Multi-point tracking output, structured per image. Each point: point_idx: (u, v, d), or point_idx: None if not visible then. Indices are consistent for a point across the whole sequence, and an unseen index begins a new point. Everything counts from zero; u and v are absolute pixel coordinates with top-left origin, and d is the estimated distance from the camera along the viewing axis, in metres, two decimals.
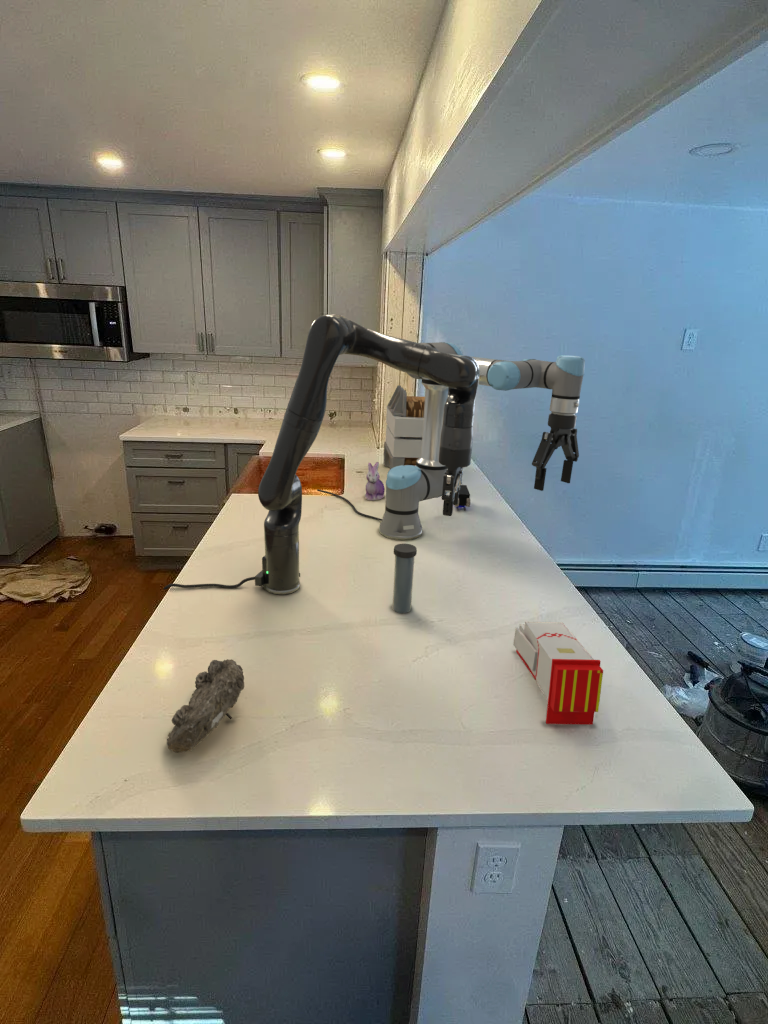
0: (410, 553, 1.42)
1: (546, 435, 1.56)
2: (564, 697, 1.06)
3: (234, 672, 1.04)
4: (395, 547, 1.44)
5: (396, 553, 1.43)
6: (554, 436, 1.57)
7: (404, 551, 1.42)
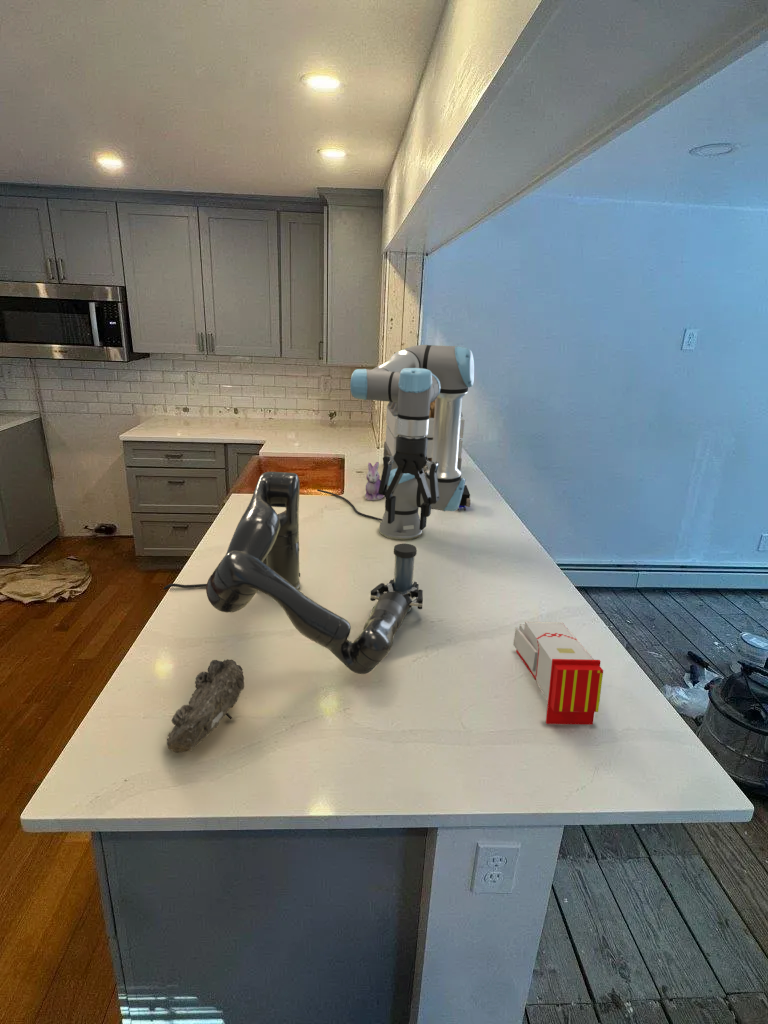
0: (410, 553, 1.42)
1: (437, 466, 1.34)
2: (564, 697, 1.06)
3: (234, 672, 1.04)
4: (395, 547, 1.44)
5: (396, 553, 1.43)
6: None
7: (404, 551, 1.42)
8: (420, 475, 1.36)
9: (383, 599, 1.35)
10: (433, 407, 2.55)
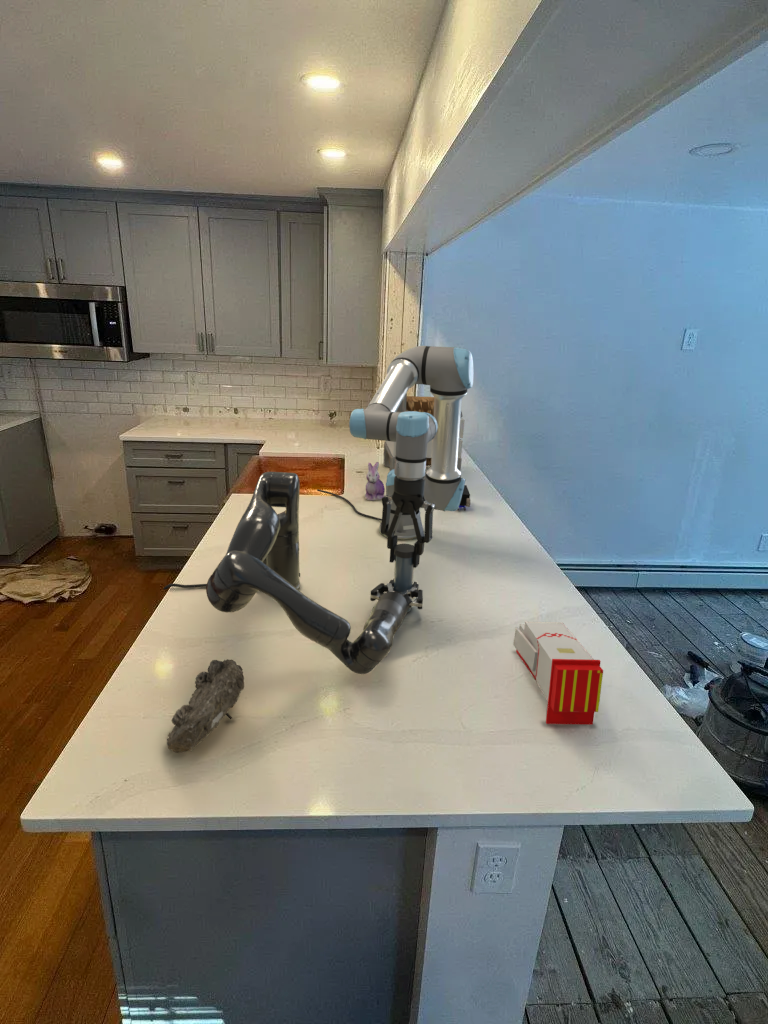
0: (410, 553, 1.42)
1: (433, 508, 1.38)
2: (564, 697, 1.06)
3: (234, 672, 1.04)
4: (395, 547, 1.44)
5: (396, 553, 1.43)
6: None
7: (404, 551, 1.42)
8: (416, 515, 1.39)
9: (383, 599, 1.35)
10: (433, 407, 2.55)
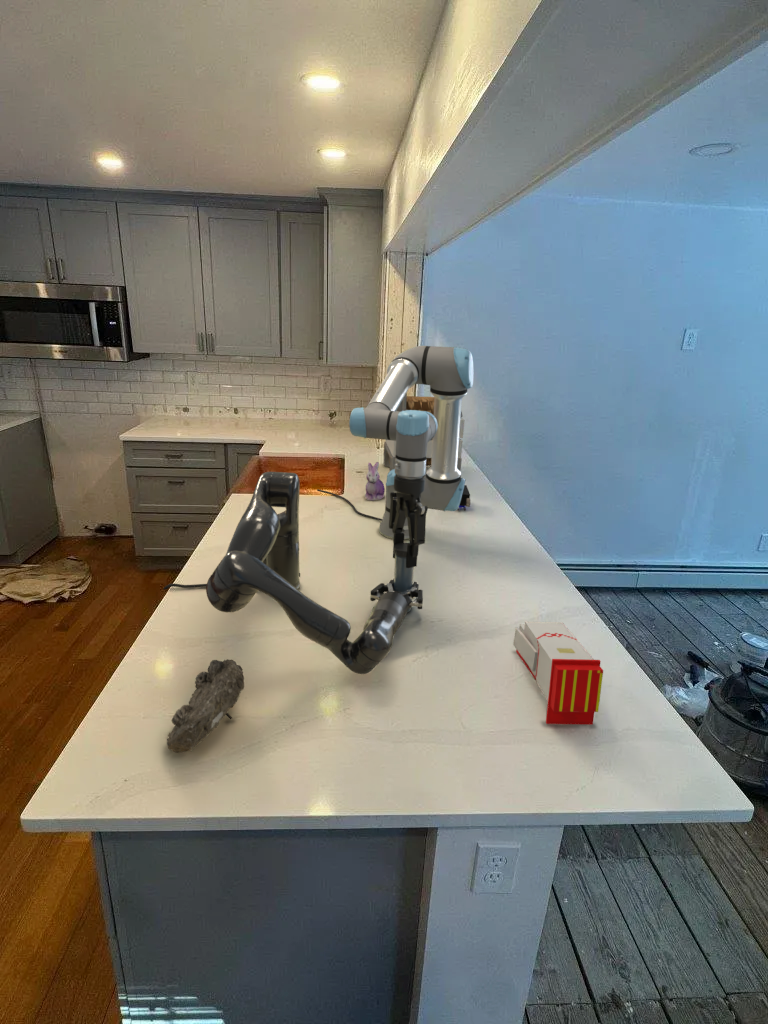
0: None
1: None
2: (564, 697, 1.06)
3: (234, 672, 1.04)
4: None
5: None
6: None
7: None
8: None
9: (383, 599, 1.35)
10: (433, 407, 2.55)
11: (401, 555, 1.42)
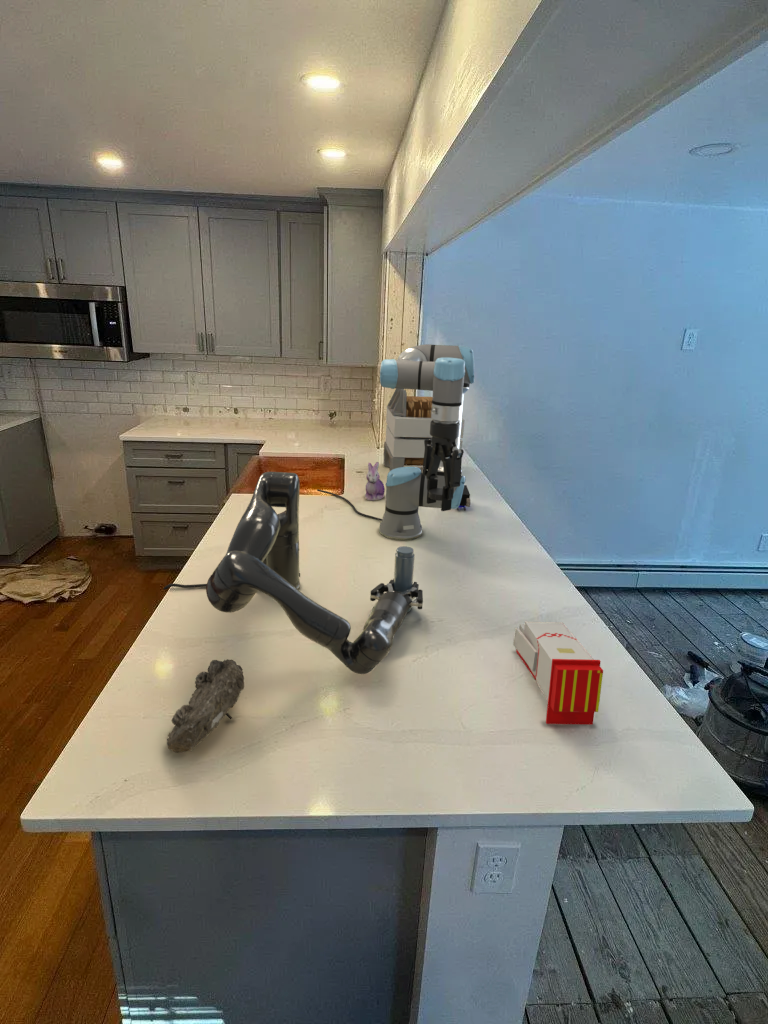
0: None
1: None
2: (564, 697, 1.06)
3: (234, 672, 1.04)
4: None
5: None
6: None
7: None
8: None
9: (383, 599, 1.35)
10: None
11: (436, 499, 1.49)
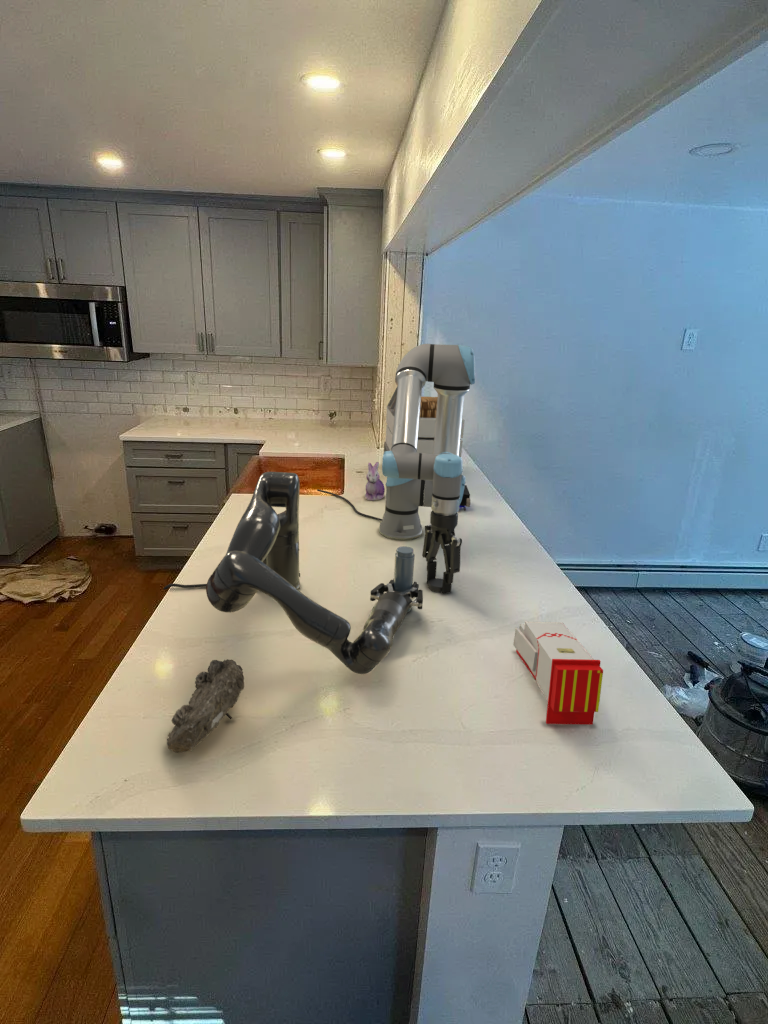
0: None
1: None
2: (564, 697, 1.06)
3: (234, 672, 1.04)
4: None
5: None
6: None
7: (442, 580, 1.64)
8: None
9: (383, 599, 1.35)
10: (433, 407, 2.55)
11: (435, 591, 1.60)
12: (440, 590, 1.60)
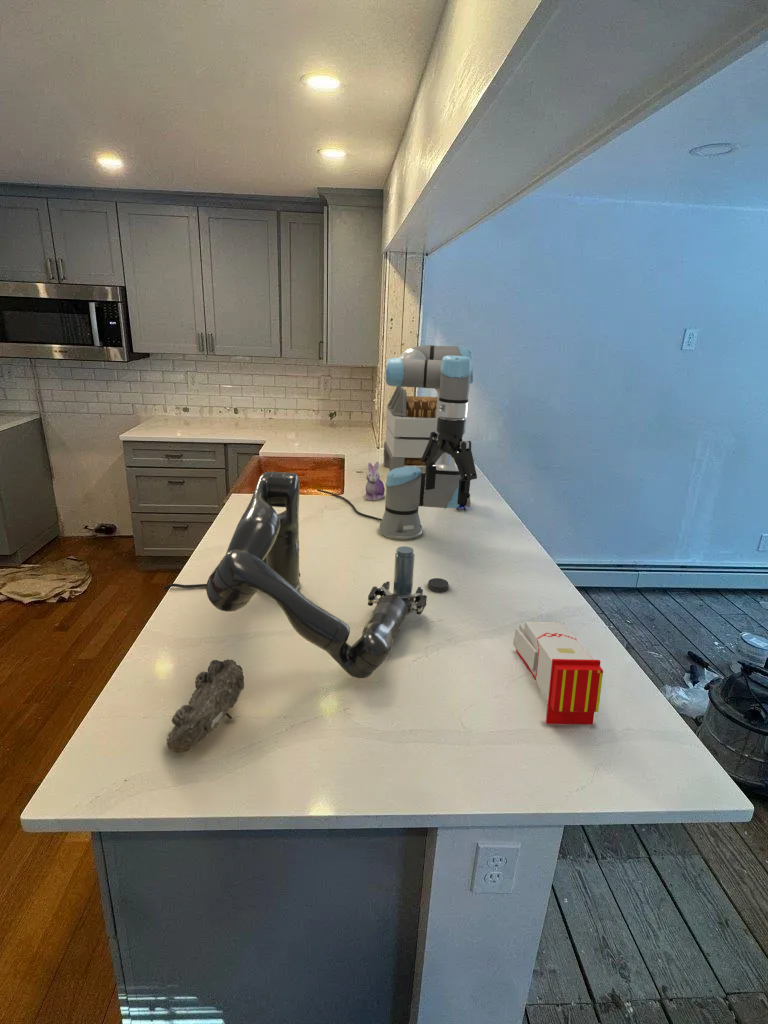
0: None
1: None
2: (564, 697, 1.06)
3: (234, 672, 1.04)
4: (446, 585, 1.61)
5: None
6: None
7: (442, 580, 1.64)
8: None
9: (382, 602, 1.34)
10: (433, 407, 2.55)
11: (435, 591, 1.60)
12: (440, 590, 1.60)
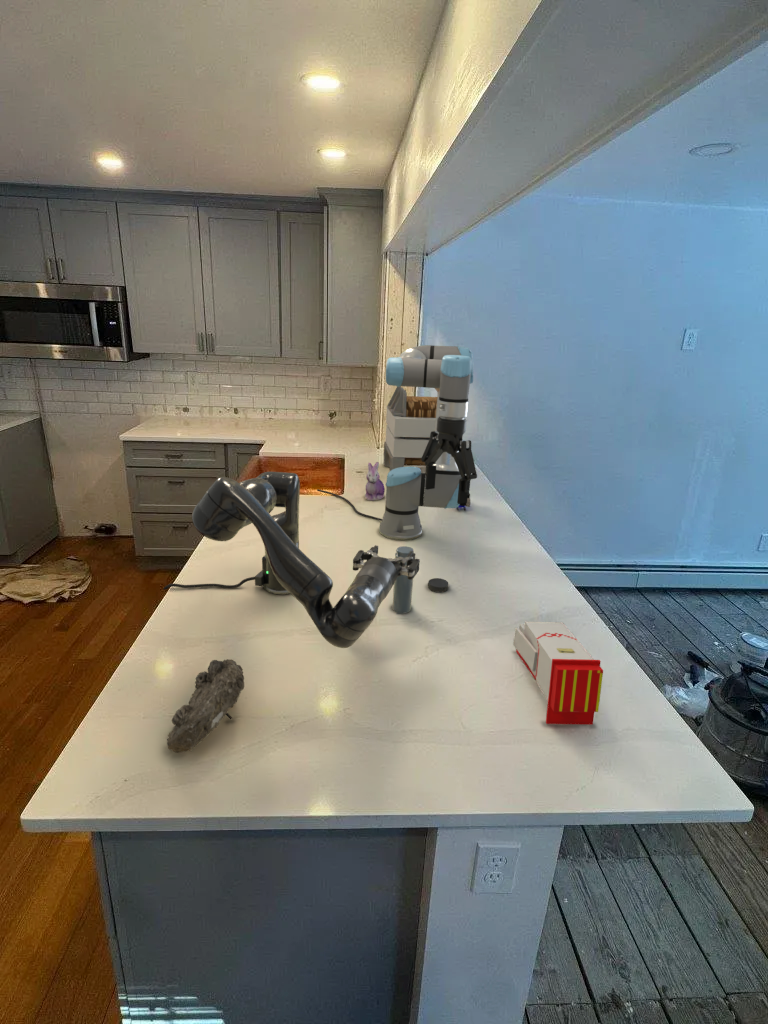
0: None
1: None
2: (564, 697, 1.06)
3: (234, 672, 1.04)
4: (446, 585, 1.61)
5: None
6: None
7: (442, 580, 1.64)
8: None
9: (368, 564, 1.17)
10: (433, 407, 2.55)
11: (435, 591, 1.60)
12: (440, 590, 1.60)
